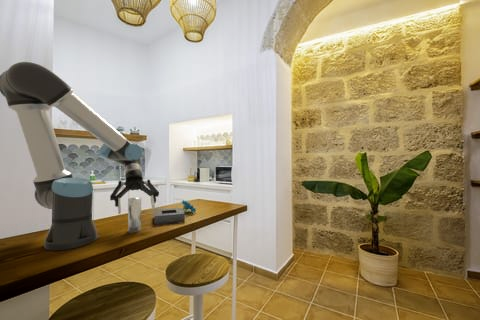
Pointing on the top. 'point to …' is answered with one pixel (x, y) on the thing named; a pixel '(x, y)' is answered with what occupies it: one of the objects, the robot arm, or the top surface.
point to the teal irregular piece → (187, 206)
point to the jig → (169, 216)
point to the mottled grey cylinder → (134, 215)
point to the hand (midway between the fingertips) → (137, 210)
